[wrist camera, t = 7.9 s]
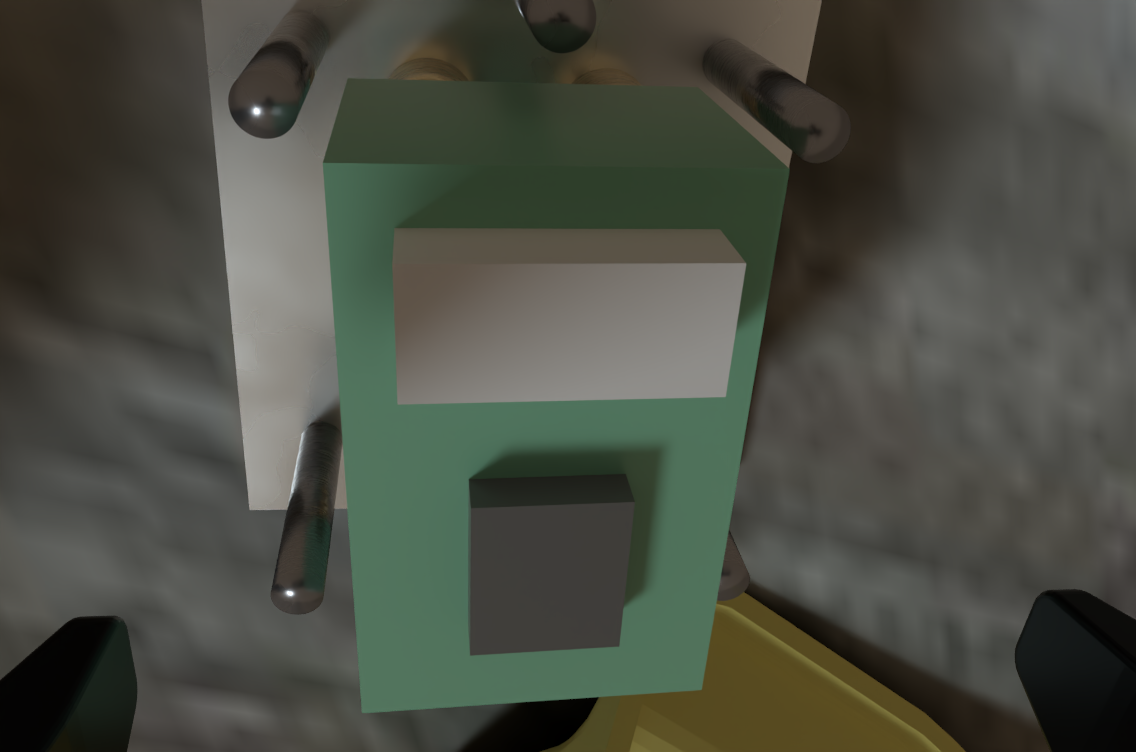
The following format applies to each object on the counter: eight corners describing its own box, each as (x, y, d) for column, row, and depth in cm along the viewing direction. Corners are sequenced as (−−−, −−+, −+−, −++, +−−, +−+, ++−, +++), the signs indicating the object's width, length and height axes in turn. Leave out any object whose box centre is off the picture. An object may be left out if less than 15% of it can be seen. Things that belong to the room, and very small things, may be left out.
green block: (646, 525, 18) (719, 744, 14) (373, 536, 17) (358, 772, 13) (697, 86, 14) (822, 198, 10) (347, 78, 13) (312, 194, 9)
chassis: (713, 482, 22) (791, 653, 17) (255, 487, 20) (207, 677, 16) (812, -44, 16) (964, 2, 12) (203, -93, 15) (108, -62, 10)
